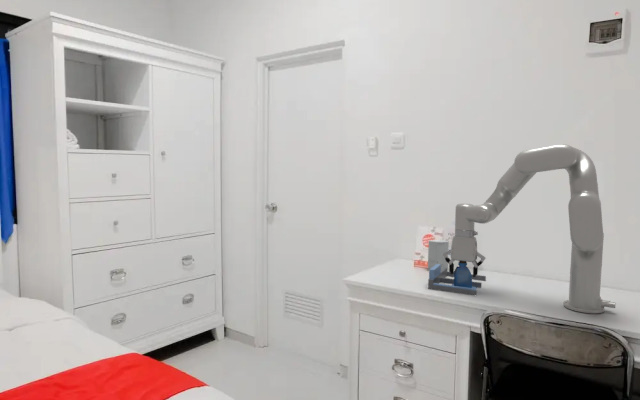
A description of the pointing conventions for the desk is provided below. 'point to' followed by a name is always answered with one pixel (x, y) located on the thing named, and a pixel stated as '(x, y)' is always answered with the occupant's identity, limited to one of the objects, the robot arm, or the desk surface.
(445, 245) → the skincare box
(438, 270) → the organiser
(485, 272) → the desk surface
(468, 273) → the perfume bottle
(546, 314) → the desk surface
